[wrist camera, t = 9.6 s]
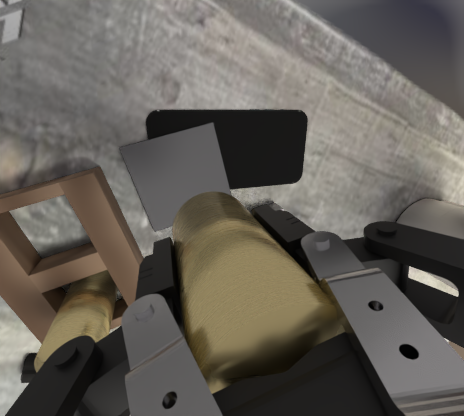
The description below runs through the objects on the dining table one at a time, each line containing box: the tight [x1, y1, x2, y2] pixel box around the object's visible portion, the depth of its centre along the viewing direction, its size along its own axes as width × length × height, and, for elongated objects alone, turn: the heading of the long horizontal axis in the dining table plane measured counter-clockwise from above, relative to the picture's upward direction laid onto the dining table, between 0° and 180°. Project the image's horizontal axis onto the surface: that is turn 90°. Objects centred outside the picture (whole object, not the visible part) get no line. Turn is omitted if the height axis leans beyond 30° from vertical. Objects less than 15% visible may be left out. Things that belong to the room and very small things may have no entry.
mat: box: [119, 122, 231, 232], centre depth 22 cm, size 8×8×1 cm
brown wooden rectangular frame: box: [0, 166, 144, 344], centre depth 21 cm, size 10×14×2 cm
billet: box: [172, 191, 346, 394], centre depth 9 cm, size 4×4×8 cm
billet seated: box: [34, 270, 118, 372], centre depth 20 cm, size 4×4×8 cm
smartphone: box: [146, 110, 308, 189], centre depth 23 cm, size 7×1×15 cm
